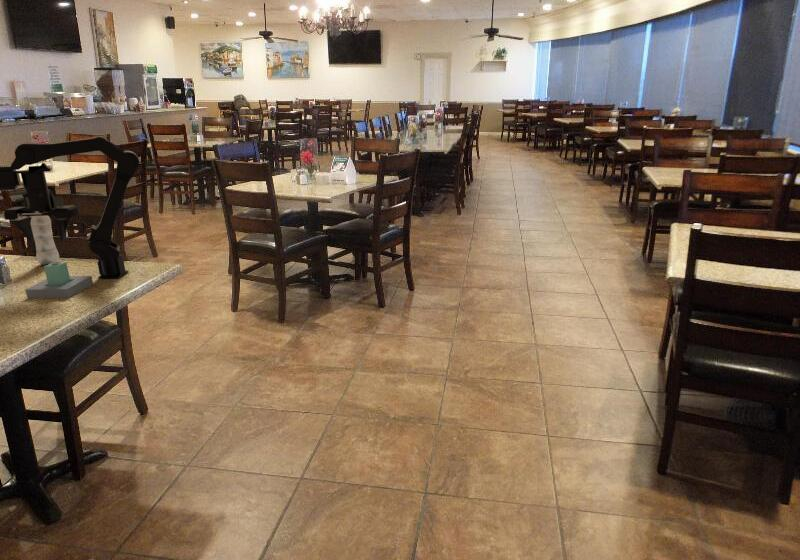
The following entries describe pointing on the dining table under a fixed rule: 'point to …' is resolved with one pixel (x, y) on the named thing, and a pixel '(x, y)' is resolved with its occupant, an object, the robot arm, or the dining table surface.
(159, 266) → the dining table surface
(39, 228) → the plastic bottle
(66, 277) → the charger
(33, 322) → the dining table surface
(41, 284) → the plate
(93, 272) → the dining table surface
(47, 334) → the dining table surface
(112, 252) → the robot arm
